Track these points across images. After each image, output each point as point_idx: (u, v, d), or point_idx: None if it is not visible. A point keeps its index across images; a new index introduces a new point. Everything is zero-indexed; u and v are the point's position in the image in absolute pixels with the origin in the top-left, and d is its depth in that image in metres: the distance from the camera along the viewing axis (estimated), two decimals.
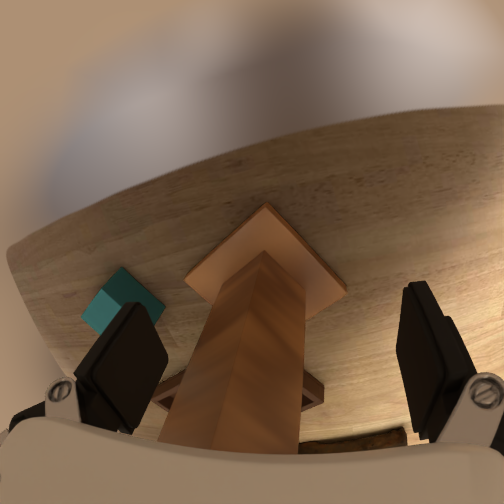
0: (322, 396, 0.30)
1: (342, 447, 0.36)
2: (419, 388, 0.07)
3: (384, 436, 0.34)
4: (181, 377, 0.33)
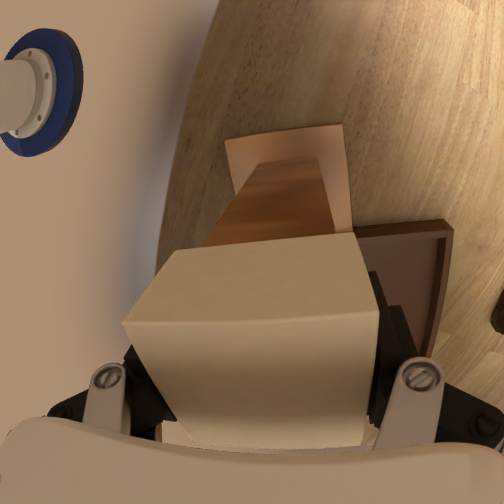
0: (448, 226, 0.24)
1: None
2: None
3: None
4: None
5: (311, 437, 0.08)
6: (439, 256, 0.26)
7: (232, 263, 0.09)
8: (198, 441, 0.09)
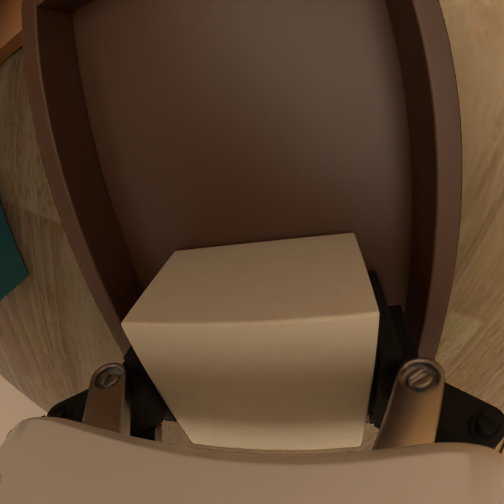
0: None
1: None
2: None
3: None
4: None
5: (311, 437, 0.08)
6: None
7: (232, 264, 0.09)
8: (198, 442, 0.09)
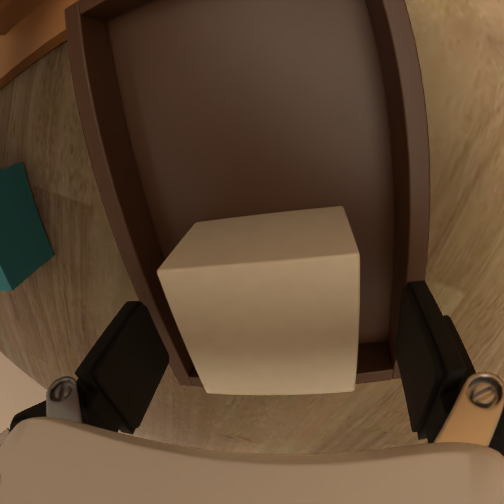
0: None
1: None
2: (417, 387, 0.07)
3: None
4: None
5: (311, 379, 0.10)
6: (374, 13, 0.07)
7: (245, 228, 0.11)
8: (211, 390, 0.12)
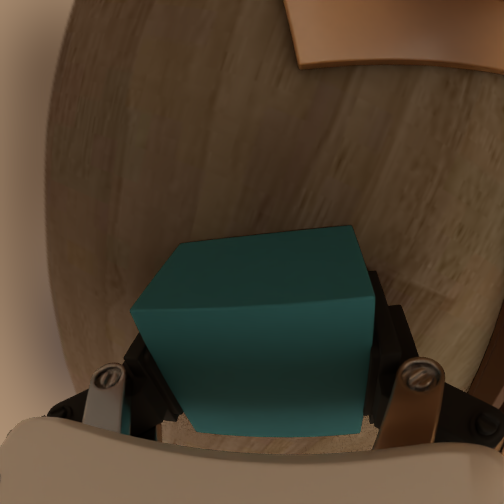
0: None
1: None
2: None
3: None
4: (502, 353, 0.10)
5: None
6: None
7: None
8: None
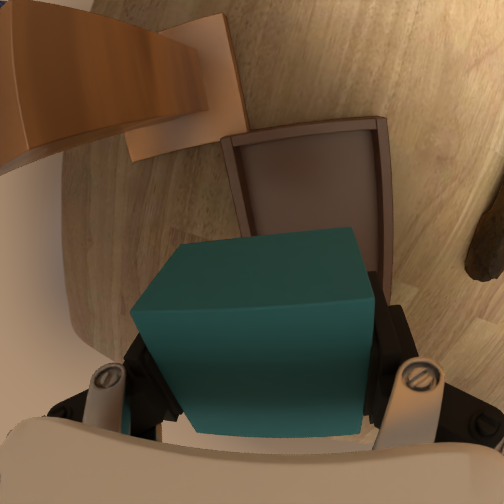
0: (379, 117, 0.18)
1: None
2: None
3: None
4: None
5: None
6: (376, 162, 0.20)
7: None
8: None
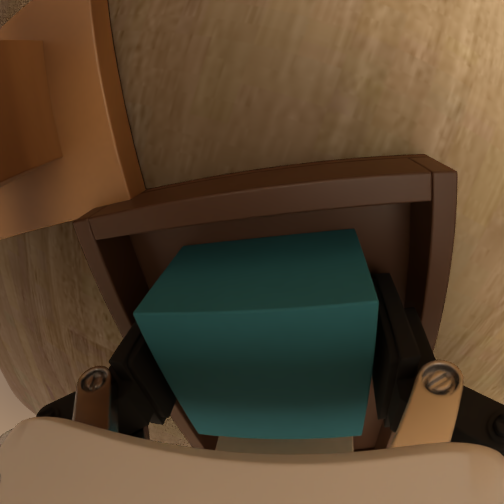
0: (437, 165, 0.07)
1: None
2: (380, 375, 0.08)
3: None
4: None
5: None
6: (415, 266, 0.09)
7: None
8: None
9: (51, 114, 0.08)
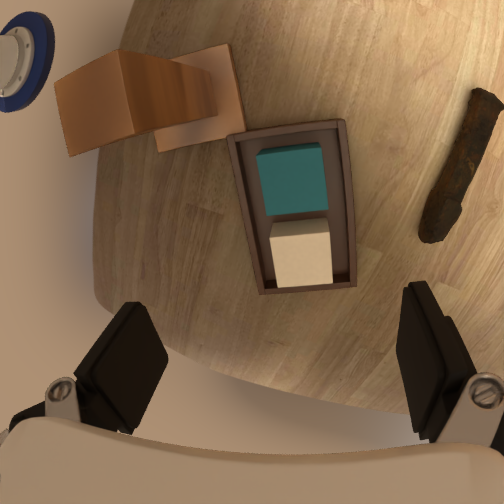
0: (340, 119, 0.27)
1: (451, 161, 0.26)
2: (419, 388, 0.07)
3: None
4: None
5: (317, 277, 0.32)
6: (339, 152, 0.29)
7: (294, 225, 0.32)
8: (280, 285, 0.33)
9: (214, 99, 0.28)
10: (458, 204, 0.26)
